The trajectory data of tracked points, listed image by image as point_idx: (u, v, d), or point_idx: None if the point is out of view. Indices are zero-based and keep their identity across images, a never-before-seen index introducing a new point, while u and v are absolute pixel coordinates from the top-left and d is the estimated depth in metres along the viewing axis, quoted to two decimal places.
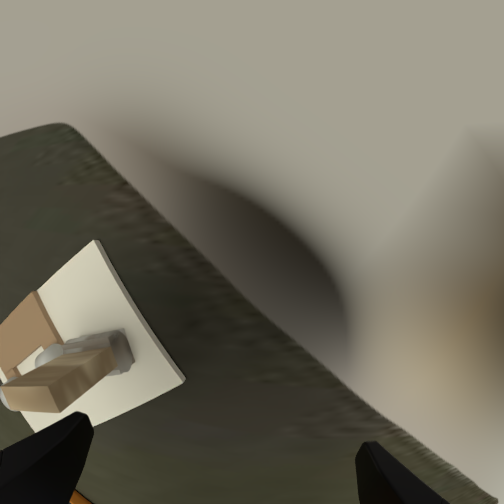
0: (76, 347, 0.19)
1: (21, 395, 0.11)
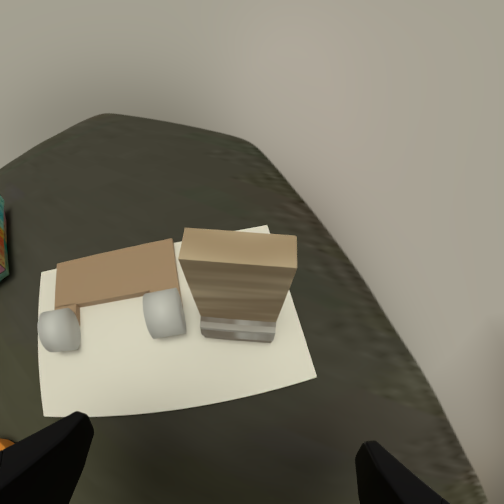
0: None
1: (231, 240, 0.13)
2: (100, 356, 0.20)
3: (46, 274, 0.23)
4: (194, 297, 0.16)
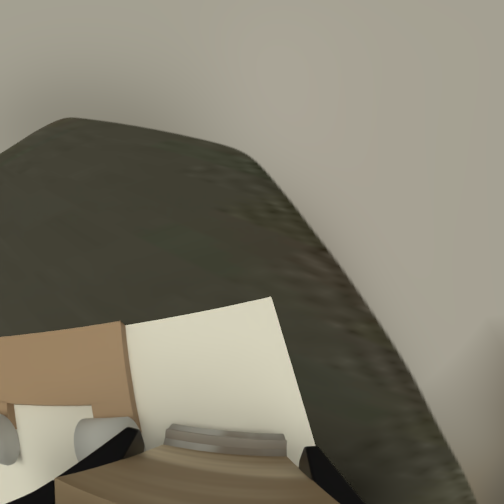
0: (203, 442, 0.10)
1: None
2: (44, 473, 0.09)
3: None
4: None
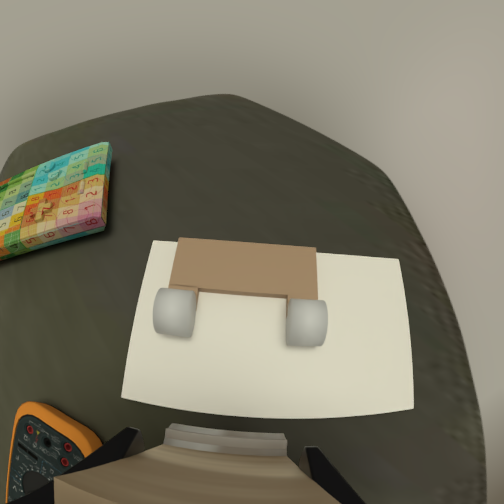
0: (203, 442, 0.10)
1: None
2: (215, 349, 0.21)
3: (160, 244, 0.25)
4: None
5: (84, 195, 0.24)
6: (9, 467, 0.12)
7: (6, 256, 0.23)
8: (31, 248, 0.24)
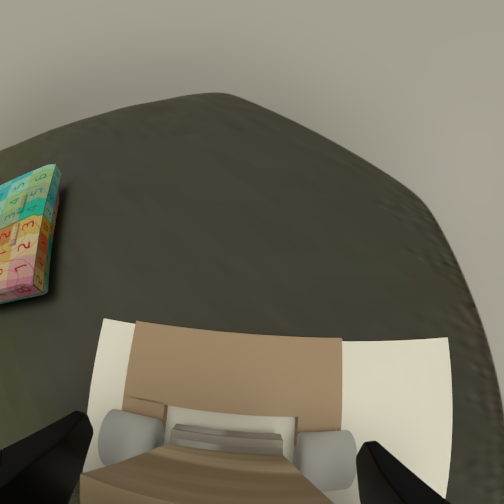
0: (206, 441, 0.11)
1: None
2: None
3: (112, 326, 0.16)
4: None
5: (15, 247, 0.15)
6: None
7: None
8: None
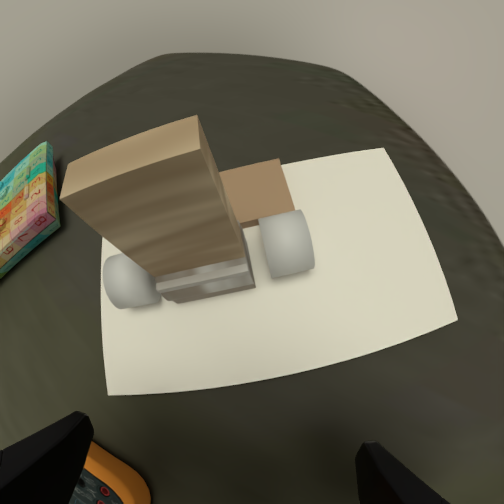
0: None
1: (114, 152, 0.08)
2: (190, 309, 0.17)
3: None
4: (123, 251, 0.12)
5: (29, 198, 0.20)
6: None
7: None
8: (0, 271, 0.21)
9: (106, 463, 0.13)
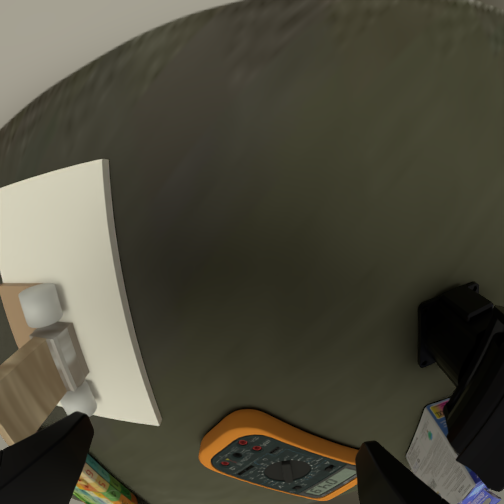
0: None
1: None
2: (91, 365, 0.21)
3: None
4: (47, 415, 0.15)
5: None
6: (261, 485, 0.22)
7: (127, 494, 0.27)
8: (108, 480, 0.26)
9: (218, 433, 0.21)
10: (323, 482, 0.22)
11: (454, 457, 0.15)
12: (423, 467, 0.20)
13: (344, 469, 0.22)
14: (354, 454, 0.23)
